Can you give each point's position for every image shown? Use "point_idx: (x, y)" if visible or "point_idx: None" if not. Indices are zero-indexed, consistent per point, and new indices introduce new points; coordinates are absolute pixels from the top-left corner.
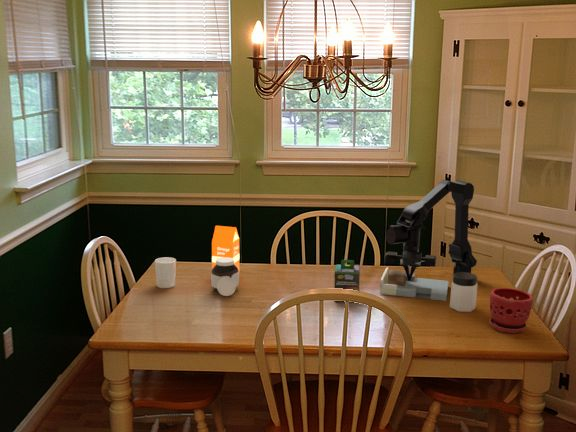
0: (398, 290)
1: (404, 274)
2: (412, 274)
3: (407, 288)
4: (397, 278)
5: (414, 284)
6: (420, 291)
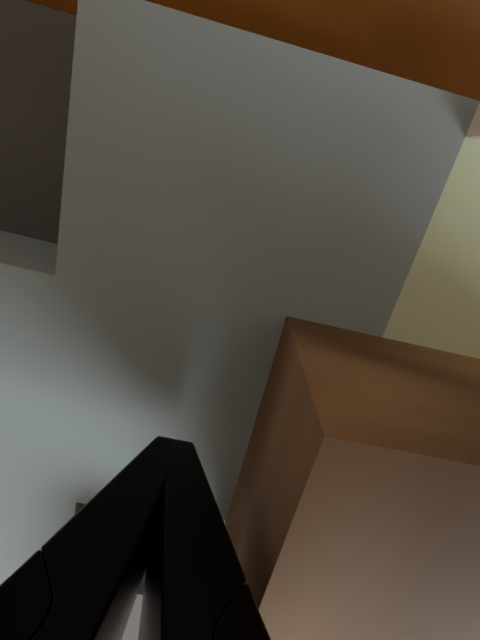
0: (429, 89)
1: (294, 527)
2: (64, 529)
3: (237, 178)
4: (457, 410)
5: (95, 395)
6: (23, 243)
